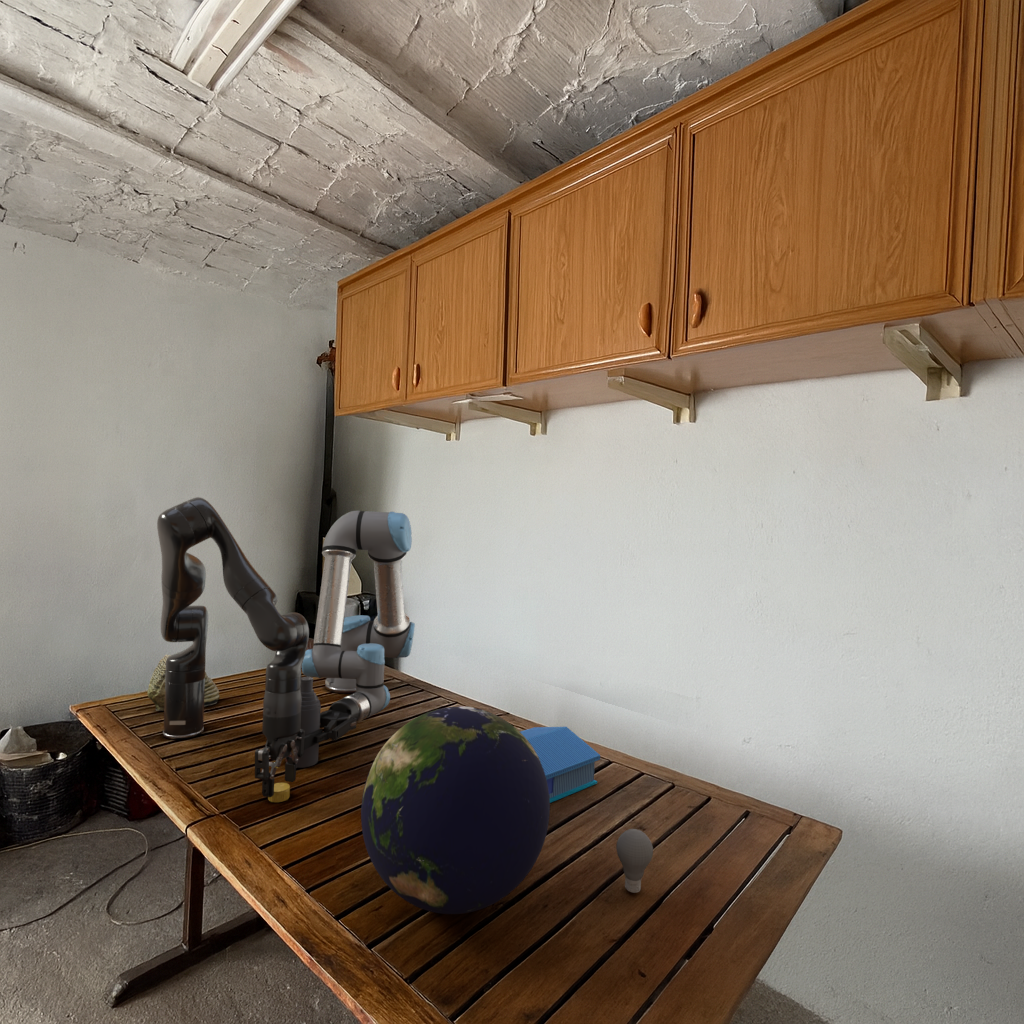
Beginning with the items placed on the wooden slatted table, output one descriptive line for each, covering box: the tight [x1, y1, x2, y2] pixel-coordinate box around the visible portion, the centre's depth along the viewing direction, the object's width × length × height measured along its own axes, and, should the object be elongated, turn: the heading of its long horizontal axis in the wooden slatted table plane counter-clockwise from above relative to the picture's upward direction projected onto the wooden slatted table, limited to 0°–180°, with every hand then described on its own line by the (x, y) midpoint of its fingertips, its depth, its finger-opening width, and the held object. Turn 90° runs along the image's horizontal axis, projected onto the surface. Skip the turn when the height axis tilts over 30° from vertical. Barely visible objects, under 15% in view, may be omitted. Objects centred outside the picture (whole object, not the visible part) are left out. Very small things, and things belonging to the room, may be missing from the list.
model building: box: [519, 726, 601, 804], centre depth 139 cm, size 39×24×10 cm, turn 132°
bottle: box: [285, 676, 322, 769], centre depth 151 cm, size 7×7×20 cm
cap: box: [267, 782, 291, 803], centre depth 133 cm, size 4×4×2 cm
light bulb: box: [615, 828, 654, 894], centre depth 106 cm, size 6×6×10 cm
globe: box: [360, 705, 551, 915], centre depth 102 cm, size 30×30×30 cm
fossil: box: [147, 654, 221, 712], centre depth 185 cm, size 9×18×15 cm, turn 132°
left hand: (279, 788), depth 133 cm, fingers open, 7 cm apart
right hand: (289, 740), depth 146 cm, fingers closed on bottle, 7 cm apart
